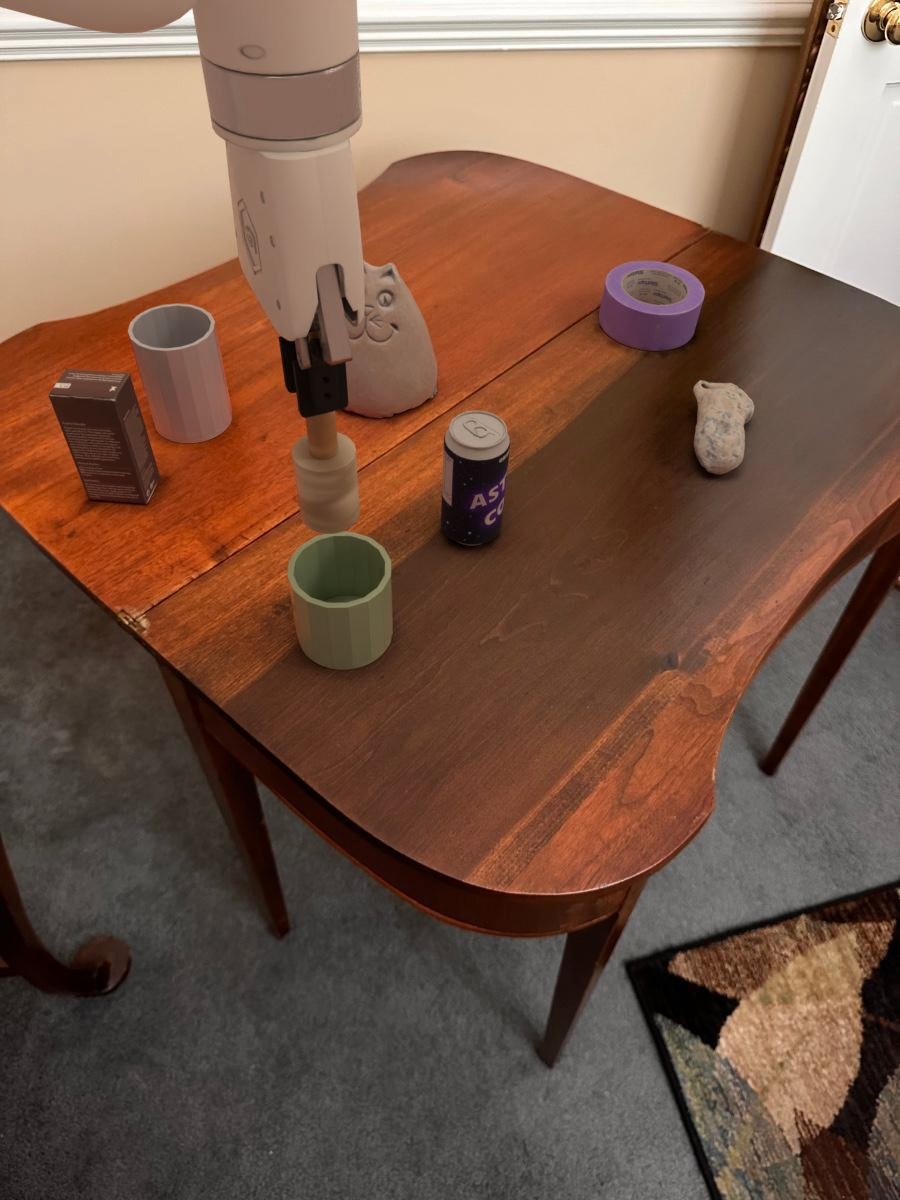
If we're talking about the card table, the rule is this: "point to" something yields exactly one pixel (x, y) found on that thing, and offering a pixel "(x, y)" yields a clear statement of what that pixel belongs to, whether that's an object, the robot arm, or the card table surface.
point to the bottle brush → (326, 474)
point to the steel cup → (182, 372)
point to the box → (106, 435)
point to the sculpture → (389, 349)
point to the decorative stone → (721, 425)
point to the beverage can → (474, 477)
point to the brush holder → (342, 599)
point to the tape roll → (650, 305)
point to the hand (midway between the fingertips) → (316, 396)
